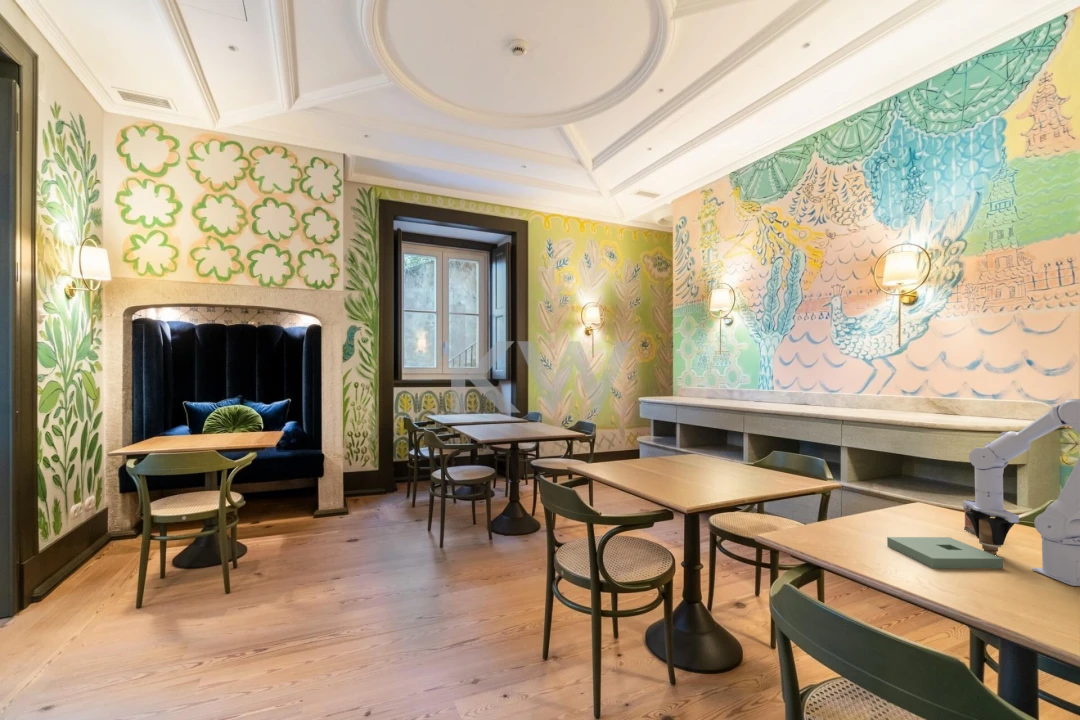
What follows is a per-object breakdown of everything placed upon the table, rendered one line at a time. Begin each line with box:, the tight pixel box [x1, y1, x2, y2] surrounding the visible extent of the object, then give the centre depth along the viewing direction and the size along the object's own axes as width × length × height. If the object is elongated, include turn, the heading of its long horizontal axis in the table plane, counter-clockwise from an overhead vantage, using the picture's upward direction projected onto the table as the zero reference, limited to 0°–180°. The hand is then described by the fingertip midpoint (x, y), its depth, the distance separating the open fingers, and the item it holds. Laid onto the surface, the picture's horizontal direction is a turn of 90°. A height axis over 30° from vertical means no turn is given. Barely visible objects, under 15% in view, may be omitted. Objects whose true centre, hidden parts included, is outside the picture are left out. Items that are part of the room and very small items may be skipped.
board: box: [886, 536, 1004, 570], centre depth 131 cm, size 16×18×2 cm
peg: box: [978, 519, 1002, 556], centre depth 134 cm, size 4×4×9 cm
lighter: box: [963, 498, 976, 535], centre depth 151 cm, size 8×3×10 cm, turn 179°
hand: (989, 541), depth 134 cm, fingers closed on peg, 4 cm apart
